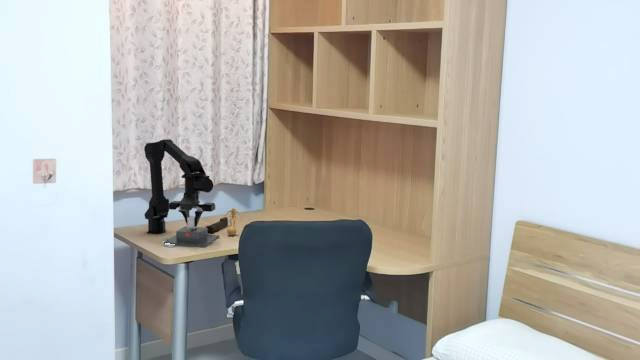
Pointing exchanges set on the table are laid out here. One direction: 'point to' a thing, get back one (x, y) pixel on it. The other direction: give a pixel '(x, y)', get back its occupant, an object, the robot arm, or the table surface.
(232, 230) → the figurine
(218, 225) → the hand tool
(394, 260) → the table surface
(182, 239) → the stand
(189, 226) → the column
